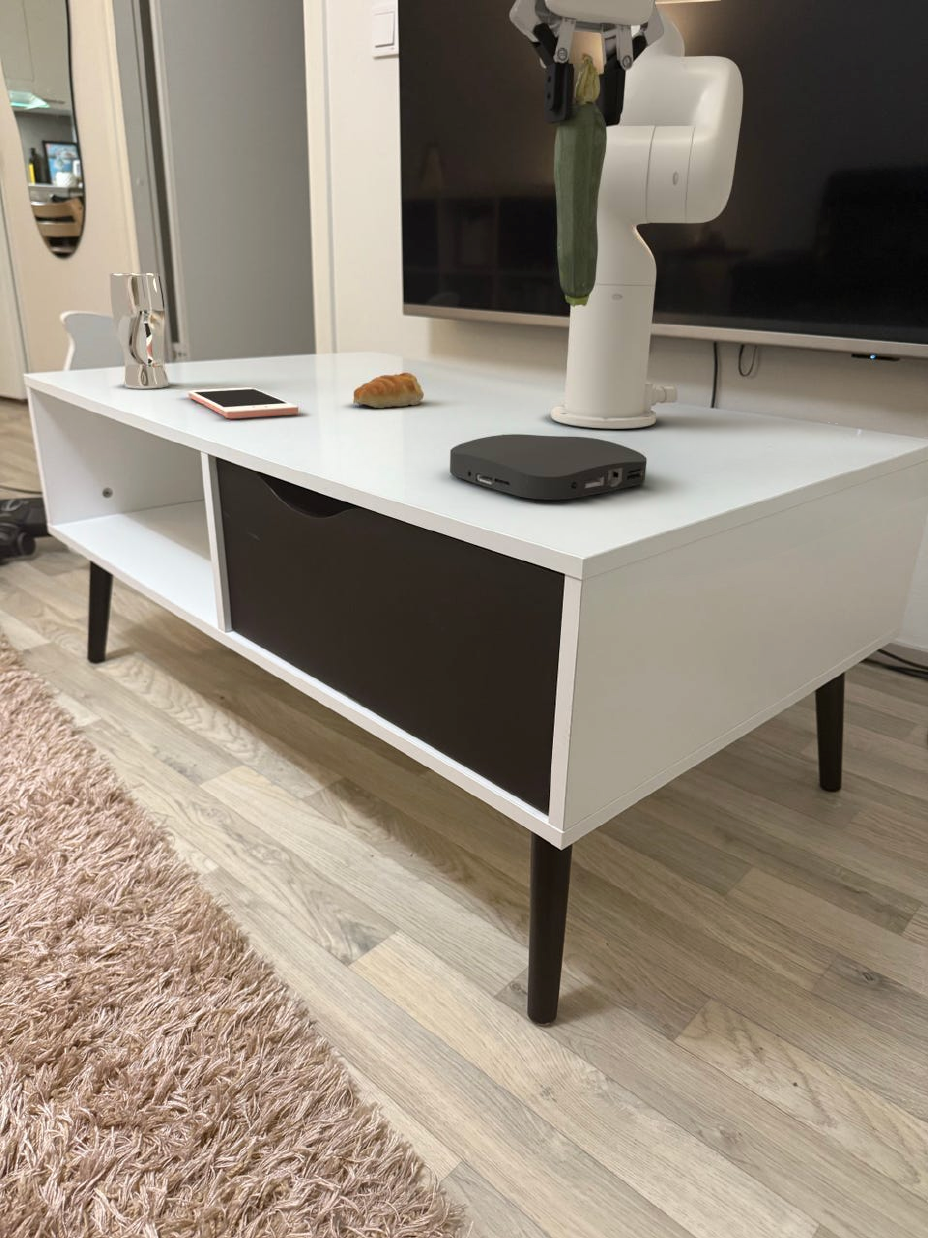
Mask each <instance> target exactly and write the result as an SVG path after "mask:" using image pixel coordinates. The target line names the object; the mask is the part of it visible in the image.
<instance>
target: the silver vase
mask: <svg viewBox="0 0 928 1238" xmlns="http://www.w3.org/2000/svg"><path fill="white" fill-rule="evenodd" d="M109 287H110V288H109V290H110V303H111V304H110V305H111V310H112V315H113V316H112V317H113V321H114V325H115V329H116V333H117V336H118V339H119V342H120V346H121V349H122V355H123V359H124V381H123V382H124V385H123V386H124V388H128V389H134V390H151V389H152V390H153V389H162V388H167V387H170V380H169V377H168V374H167V370H166V366H165V358H164V356H165V355H164V351H165V338H166V337H165V336H166V335H165V334H166V305H165V298H164V297H165V296H164V290H163V286H162V280H161V274H160V273H147V272H146V273H145V272H143V273H141V272H111V273H109Z"/></svg>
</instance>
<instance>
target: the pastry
mask: <svg viewBox="0 0 928 1238" xmlns="http://www.w3.org/2000/svg"><path fill="white" fill-rule="evenodd" d="M424 393H425V392H424V391H423V389H422V386H421V384H420V383H419V381H418V379H417V377H416V375H413V374H412V373H411V372H402V373H399V374H397V373H395V374H393V375H391V374H384V375H380V376H377V377H374V378H373V379H371V380H370V381H368V382H365V383H363V384H362V385H360V386H359V387H357V388H356V389H355V390H353V400H352V401H353V404H362V405H366V406H369V407H373V408H375V409H377V408H378V409H384V408H394V407H399V408H400V407H407V406H409V405H411V406H417V405H420V404H421V401H422V400H423V399H424V396H425V394H424Z"/></svg>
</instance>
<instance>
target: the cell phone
mask: <svg viewBox="0 0 928 1238" xmlns="http://www.w3.org/2000/svg"><path fill="white" fill-rule="evenodd" d="M187 395H188V396H187V397H188V398H190V399H192V400H194V401H195V402H197V403H199V404H201V405H204V406H205V407H207V408H209V409H210V410H212V411H214V412H216V413H218V414H219V415H221V416H223V417H225V418H227V419H245V418H260V417H271V416H272V417H273V416H275V417H276V416H287V415H297V414H299V406H298V405H296V404H293V403H291V402H289V401H287V400H284V399H281V398H280V397H277V396H275V395H272V394H270V393H267V392H265V391H262V390H260V389H258V388H255V387H251V386H250V387H248V386H247V387H246V386H245V387H230V388H229V387H228V388H227V387H226V388H209V389H193V390H188V391H187Z"/></svg>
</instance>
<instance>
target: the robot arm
mask: <svg viewBox="0 0 928 1238" xmlns="http://www.w3.org/2000/svg"><path fill="white" fill-rule="evenodd" d="M717 1H719V2H720V0H515V2H514V4H513V5H512V8H511V9H510V11H509V21H511V23H512V24H513V25H514V26H515V27H516V28H517V29H518V30H519V31H520V32H521V33H522V34H523V35H524V36H526V37H527V39H528V42H529V44H530V45H531V46H532V48H533V49H534V51H535V52H536V54H537V55H538V57H539V62H540V63H539V64H540V65H541V67H542V68H544V69H545V77H544V79H545V80H544V82H545V83H544V99H543V100H544V101H543V105H544V106H543V107H544V110H545V111H546V123H547V124H548V125H549V124H551V125H556V124H559V123H560V122H565V121H568V120H569V119H571V117H572V104H574V87H575V66H574V63H571V62H570V53H571V49H572V43H573V39H574V33H575V32H579V33H585V34H586V33H587V34H594V35H600V40H601V52H602V65H603V66H602V67H603V72H602V73H598V76H599V81H600V92H599V95H598V98H597V99H596V100H595V101H594V103H595V106H597V107H598V109H599V110H600V111H601V113H602V115H603V117H604V120H605V123H606V128H607V144H606V154H605V159H604V164H603V170H602V176H601V182H600V188H599V194H598V208H597V234H598V256H597V267H596V280H595V284H594V288H593V290H592V292H591V293H590V294H589V299H588V302H587V305H586V306H582V305H576V306H575V307H573V306H571V305H570V310H569V311H570V313H569V327H568V328H569V329H568V343H567V344H568V346H567V348H568V349H567V362H566V377H565V394H564V404H560V405H557V406H553V407H552V409H551V412H550V418H551V419H552V420H553V421H554V422H558V423H560V424H564V425H570V426H574V427H580V428H581V427H582V428H590V429H591V428H592V429H608V430H613V429H614V430H617V429H620V430H621V429H623V430H624V429H626V430H627V429H637V428H645V427H648V426H652V425H654V424H655V423H656V422H657V413H656V412H655V411H654V410H652V407H654V406H656V404H671V403H675V402H676V401H677V400H678V397H679V393H678V390H677V388H676V387H675V386H662V387H658V388H657V387H656V386H655V385H654V383H653V382H649V381H647V378H648V367H649V357H650V346H651V337H652V336H651V335H652V325H653V324H652V323H653V314H654V304H655V292H656V282H657V265H656V260H655V257H654V254H653V253H652V251H651V249H650V248H649V246H648V244H647V243H646V242H645V240H644V239H643V237H641V235H640V233H639V232H638V230H637V226H638V225H642V224H643V225H644V224H651V223H652V224H701V223H707V222H710V221H713V220H714V219H716V218H718V217H719V216H720V215H721V214H722V212H723V211H724V209H725V207H726V206H727V203H728V200H729V197H730V194H731V191H732V186H733V180H734V175H735V165H736V159H737V153H738V152H737V151H738V144H739V137H740V129H741V123H742V115H743V105H744V84H743V77H742V74H741V71H740V69H739V67H738V65H737V64H736V63H735V62H734V61H733V60H732V59H729V58H727V57H725V56H718V55H699V56H696V55H695V56H685V52H686V51H685V50H686V48H685V42H684V39H683V36H682V34H681V32H680V30H679V29H678V28H677V26H676V25H675V24H674V23H673V20H671V18H670V17H669V16H668V15H667V14H666V12H664V11H663V9H662V8H660V7H659V6H658V5H661V4H681V3H682V4H683V3H700V2H703V3H704V2H717Z"/></svg>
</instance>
